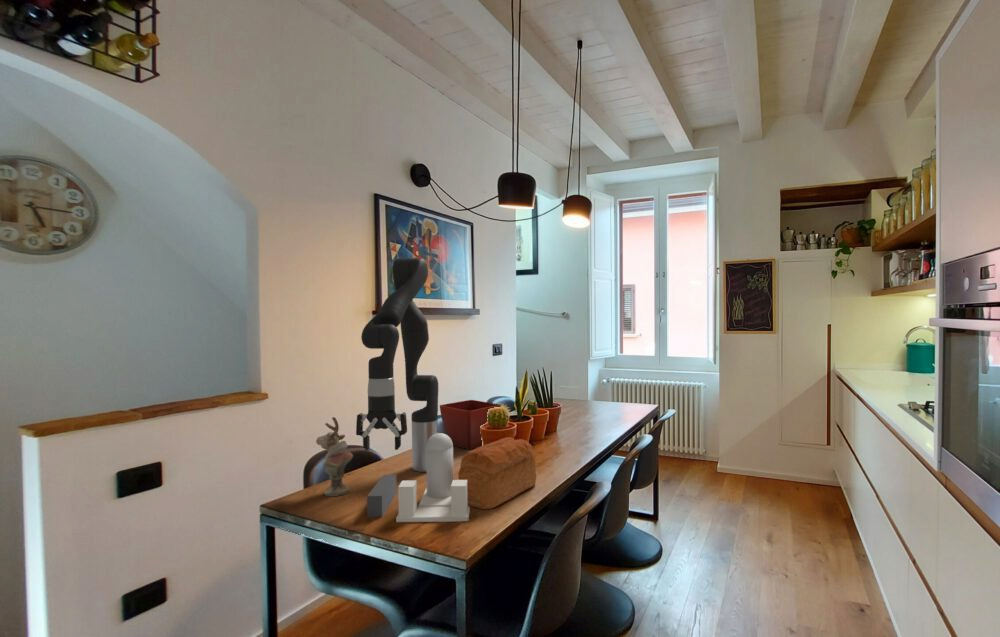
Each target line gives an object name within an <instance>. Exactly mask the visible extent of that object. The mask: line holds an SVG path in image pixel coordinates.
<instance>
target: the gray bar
mask: <svg viewBox="0 0 1000 637" xmlns="http://www.w3.org/2000/svg"><path fill="white" fill-rule="evenodd" d="M397 478H398V477H397V474H383V475H382V476H381V477H380V479H379V480H378V482H376V484H375V485H374V487H373V488H372V489H371V490H370V492H369V493H368V495H367V496H366V506H367V507H366V508H367V509H366V510H367V511H366V514H367V516H366V517H367V518H383V517H384V515H385V513H386V512H387V510H388V509H389V507H390V505H391V504H392V502H393V500H394V499H395V498H396V496H397V491H398V488H397V480H398V479H397ZM395 495H396V496H395Z"/></svg>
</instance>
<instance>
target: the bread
mask: <svg viewBox="0 0 1000 637" xmlns="http://www.w3.org/2000/svg"><path fill="white" fill-rule="evenodd" d="M458 480H467V491H468V506H469V507H473V508H478V509H481V510H491V509H494V508H495V507H498V506H499V505H501V504H504V503H505V502H507V501H509V500H511V499H513V498H515V497H516V496H517V495H519V494H521V493H523V492H524V491H526V490H528V489H530V488H532V487H534V486H535V485H536V482H537V473H536V458H535V455H534V451H533V446H532V444H531V443H529V441H528V440H526V439H521V438H519V439H518V438H517V439H514V438H513V437H511V436H510V437H508V436H507V437H504V438H500V439H498V440H496V441H492V442H491V443H489V444H485V445H483V446H481V447H477V448H474V449H471V450H469V451H467V453H465V454H464V455H463V456H462V458H461V461H460V468H459V470H458Z"/></svg>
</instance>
